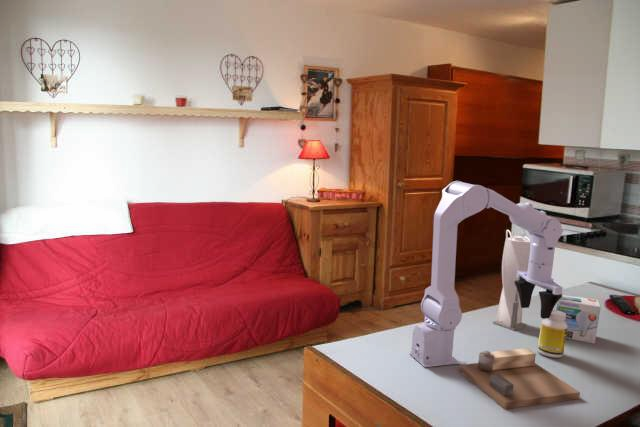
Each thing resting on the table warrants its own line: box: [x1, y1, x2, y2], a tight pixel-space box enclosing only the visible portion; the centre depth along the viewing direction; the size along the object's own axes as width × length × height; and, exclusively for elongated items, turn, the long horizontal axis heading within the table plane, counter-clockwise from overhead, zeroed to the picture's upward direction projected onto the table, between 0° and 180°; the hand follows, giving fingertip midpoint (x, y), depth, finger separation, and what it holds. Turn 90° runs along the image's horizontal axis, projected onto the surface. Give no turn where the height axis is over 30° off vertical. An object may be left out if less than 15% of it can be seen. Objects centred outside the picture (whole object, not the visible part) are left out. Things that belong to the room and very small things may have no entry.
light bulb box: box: [555, 294, 602, 344], centre depth 145 cm, size 11×7×11 cm, turn 68°
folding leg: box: [477, 347, 537, 371], centre depth 120 cm, size 14×3×4 cm, turn 107°
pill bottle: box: [537, 309, 567, 359], centre depth 132 cm, size 6×6×11 cm
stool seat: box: [458, 362, 581, 410], centre depth 115 cm, size 19×17×4 cm
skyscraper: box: [492, 229, 531, 332], centre depth 151 cm, size 8×8×28 cm
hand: (534, 312), depth 133 cm, fingers open, 7 cm apart
